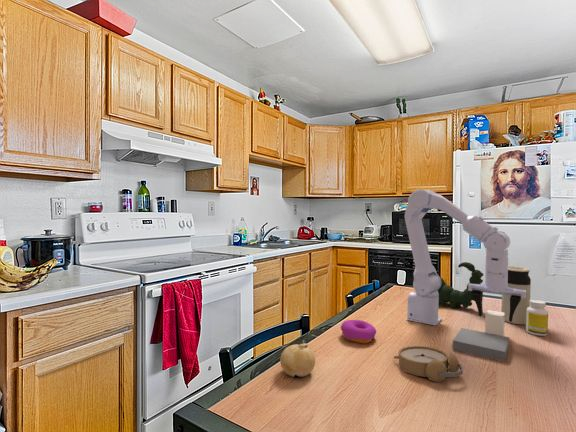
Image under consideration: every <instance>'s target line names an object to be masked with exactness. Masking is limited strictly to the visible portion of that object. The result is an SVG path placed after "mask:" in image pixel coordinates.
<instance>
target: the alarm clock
mask: <svg viewBox="0 0 576 432" xmlns="http://www.w3.org/2000/svg"><path fill="white" fill-rule="evenodd" d="M393 358H394V359H398V366H399V368H400V369H401V370H402V371H404V372H405V373H408V374H410V375H414V376H418V377H422V378H427V379H429V380H430V381H432V382H434V383H441V382H442V381H444V380H446V377H448V378H457V377H460V376H462V375H463V374H464V370H463V369H464V368H463V366H462V364H461V363H460V362H459V359H458V357H457V356H456V355H455V354H453V353H451V352H449V355H448V354H447V352H445V351H443V350H441V349H438V348H436V347H432V346H431V347H430V346H424V345H423V346H422V345H412V346H411V345H410V346H409V345H408V346H404V347H402V348H400V349H399V350H398V355H394V356H393Z"/></svg>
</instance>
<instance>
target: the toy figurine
mask: <svg viewBox="0 0 576 432" xmlns="http://www.w3.org/2000/svg"><path fill="white" fill-rule="evenodd" d="M463 267H464V268H466V269H467V270H468V271H469V272H470V273H471V275H470V277H469V278H468V279H469V283H470V284H482V283H484V280H483V279H482V277H483V276H485V275H484V273H483V272H482V271H481V270H479V269H476V266H475V265H474V264H473V263H471V262H466V261H463V262H461V263H459V265H458V268H463ZM438 276H439V277H440V279H441V287H440V288H439V289H438V293H439V305H442V306H443V305H445V304H447V303H449V304H450V305H449V306H450V308H451V309H456V308H457V307H461V306H462V308H464V309H468V307H471V306H472V305H473V302H472V301H474V302H475V300H474V298H473V296H472V291H468V284H469V283H467V284H466V288H465V289H464V290H463V291H460V290H458V289H454V287H452V286H450V285H448V284H446V282H445V280H444V279H443V277H441V276H440V275H438Z"/></svg>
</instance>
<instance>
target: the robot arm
mask: <svg viewBox="0 0 576 432" xmlns="http://www.w3.org/2000/svg"><path fill="white" fill-rule="evenodd" d="M408 196H409V197H408V198H407V204H406V209H405V211H404V212H405V213H404V221H405V226H406V231H407V235H408V239H409V244H410V248H411V253H412V257H413V261H414V262H413V263H414V271H413V273H412V275H413V281H412V287H413V290H414V291H415V292H414V291H410V292H409V293H408V297H407V314H406V315H407V316H406V317H407V318H406V321H407V320H408V321H410V322H415V323H419V324H420V323H421V324H426V325H431V326H434V327H435V326H436V327H437V325H438V324H439V323H440V322H441V320H442V317H439V305H440V304H439V293H438V289H439V288H440V287H441V279H440V277H441V276H440V275H439V274H438V273H437V270H436V268H435V266H434V265H433V264H432V259H431V255H430V251H429V247H428V242H427V237H426V233H425V230H424V229H425V228H424V225H423V220H422V219H423V218H424V216H425V215H426V214H427V213H428V212H429V211H430V210H433V209H434V210H440V211H442V212H443V213H445V214H446V215H448V216H449V217H451V218H452V219H454V220H456V221H457V222H458V223H460V224H461V226H462V230H463V231H464V232H466V233H467V234H468V235H470V236H472V237H473V238H474V239H475V240H477V242H479V243H480V244H481V243H482V244H483V247H484V248H485V249H486V252H485V253H486V255H485V268H484V269H485V270H484V271H485V272H484V273H485V275H484V276H485V278H484V284H482V283H481V284H470V282H469V284H468V283H467V285H468V291H472V296H473V298H474V300H475V301H474V302H475V305H476V307H477V311H478V316H479V317H483V299H484V298H483V295H484V293H487V294H494V295H501V296H502V295H508V296H511V297H510V315H509V321H510V322H512V319H513V314H514V312H515V309H516V307H517V306H518V304H519V302H520V301H521V298H526V290H519V289H514V288H509V287H508V266H509V252H508V251H509V250H508V248H509V247H510V246H511V245H510V244H511V239H510V237H509V236H508V234H506V232H505V231H502V230H501V231H500V230H499V228H498V227H496V226H495V227H493V226H492V225H491V224H490V223H488V222H487V221H485V217H483V216H482V215H481V216H480V215H479V216H478V215H469V214H467V213H466V212H465V211H463V210H462V209H461V208H459V206H457V205H456V204H454V203H452V202H451V201H450V200H449V199H447V198H446V197H444V196H443V195H441V194H439V193H437V192H436V191H434V190H432V189H430V190H429V189H427V190H426V189H421V188H418V189H415V190H414V191H413V192H411V194H410V195H408ZM498 230H499V231H498ZM439 276H440V277H439Z"/></svg>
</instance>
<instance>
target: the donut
mask: <svg viewBox="0 0 576 432" xmlns="http://www.w3.org/2000/svg"><path fill="white" fill-rule="evenodd" d="M340 330H341V334H342V336H343V338H345V339H346V340H348V341H351V342H354V343H359V344H362V345H363V344H365V345H366V344H368V343H370V342H371V341H372V339H375V336H376V334H377V329H376V327H375V326H373V325H372V324H371V323H369V322H367V321H365V320H360V319H347V320H344V321H343V322H342V323H341V325H340Z"/></svg>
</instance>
